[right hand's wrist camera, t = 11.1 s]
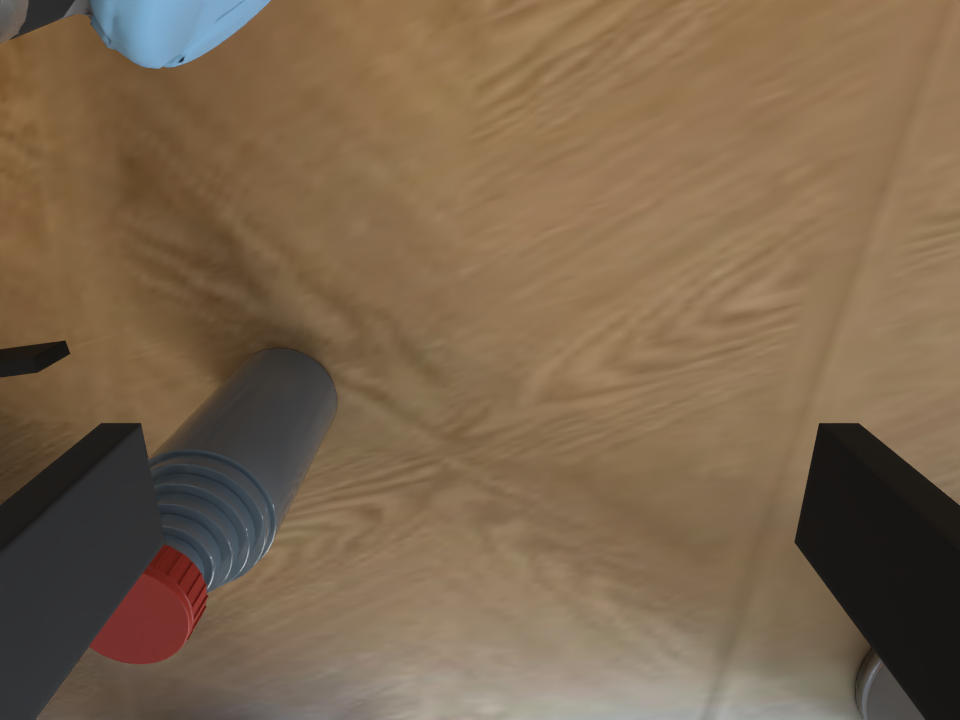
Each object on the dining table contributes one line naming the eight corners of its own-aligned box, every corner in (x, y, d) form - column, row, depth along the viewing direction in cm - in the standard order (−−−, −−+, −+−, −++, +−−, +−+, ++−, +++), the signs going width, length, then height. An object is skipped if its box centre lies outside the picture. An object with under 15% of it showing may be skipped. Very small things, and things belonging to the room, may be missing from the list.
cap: (216, 554, 24) (198, 584, 22) (200, 642, 25) (182, 677, 24) (97, 525, 24) (70, 554, 22) (88, 617, 25) (61, 650, 23)
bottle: (347, 364, 40) (241, 558, 22) (325, 455, 43) (213, 697, 25) (240, 335, 40) (43, 511, 22) (223, 429, 42) (33, 658, 24)
